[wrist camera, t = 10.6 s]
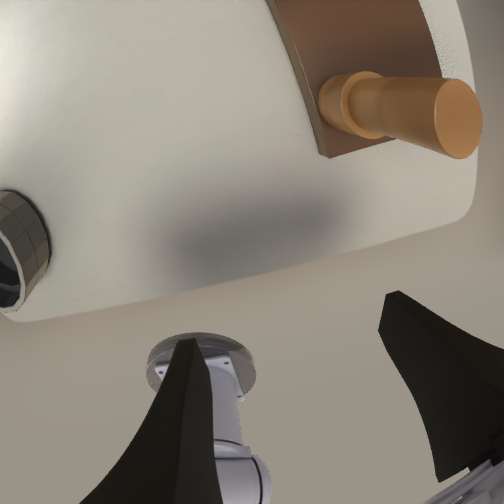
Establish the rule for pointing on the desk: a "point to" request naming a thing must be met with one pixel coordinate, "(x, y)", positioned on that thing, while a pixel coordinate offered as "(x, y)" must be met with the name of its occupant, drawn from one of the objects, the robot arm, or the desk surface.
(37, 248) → the mortar
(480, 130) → the pestle
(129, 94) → the desk surface
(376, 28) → the walnut board
